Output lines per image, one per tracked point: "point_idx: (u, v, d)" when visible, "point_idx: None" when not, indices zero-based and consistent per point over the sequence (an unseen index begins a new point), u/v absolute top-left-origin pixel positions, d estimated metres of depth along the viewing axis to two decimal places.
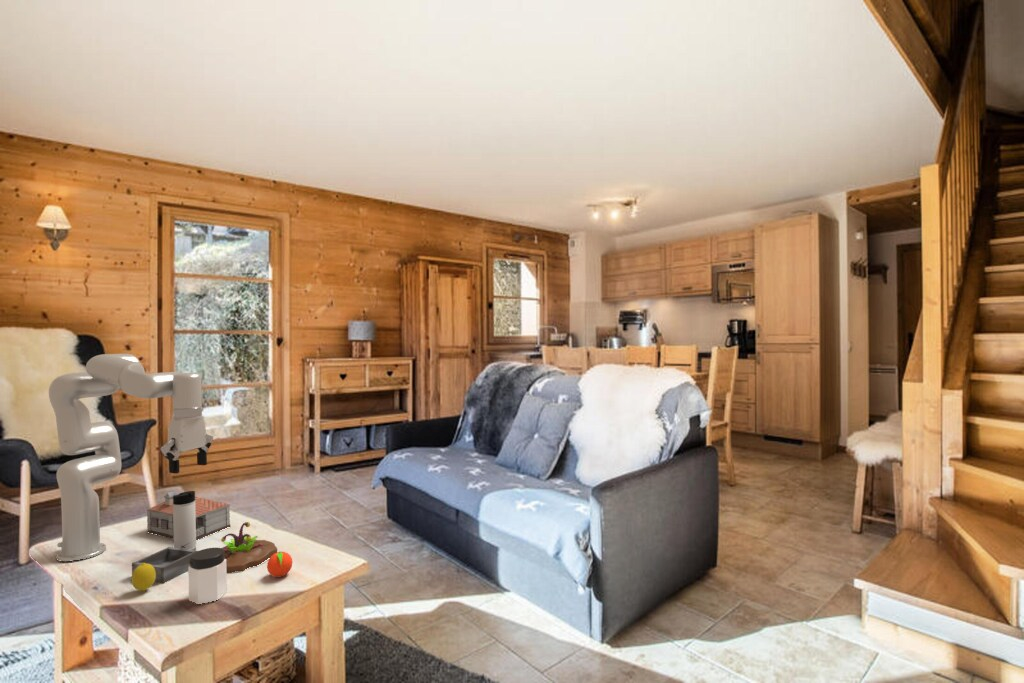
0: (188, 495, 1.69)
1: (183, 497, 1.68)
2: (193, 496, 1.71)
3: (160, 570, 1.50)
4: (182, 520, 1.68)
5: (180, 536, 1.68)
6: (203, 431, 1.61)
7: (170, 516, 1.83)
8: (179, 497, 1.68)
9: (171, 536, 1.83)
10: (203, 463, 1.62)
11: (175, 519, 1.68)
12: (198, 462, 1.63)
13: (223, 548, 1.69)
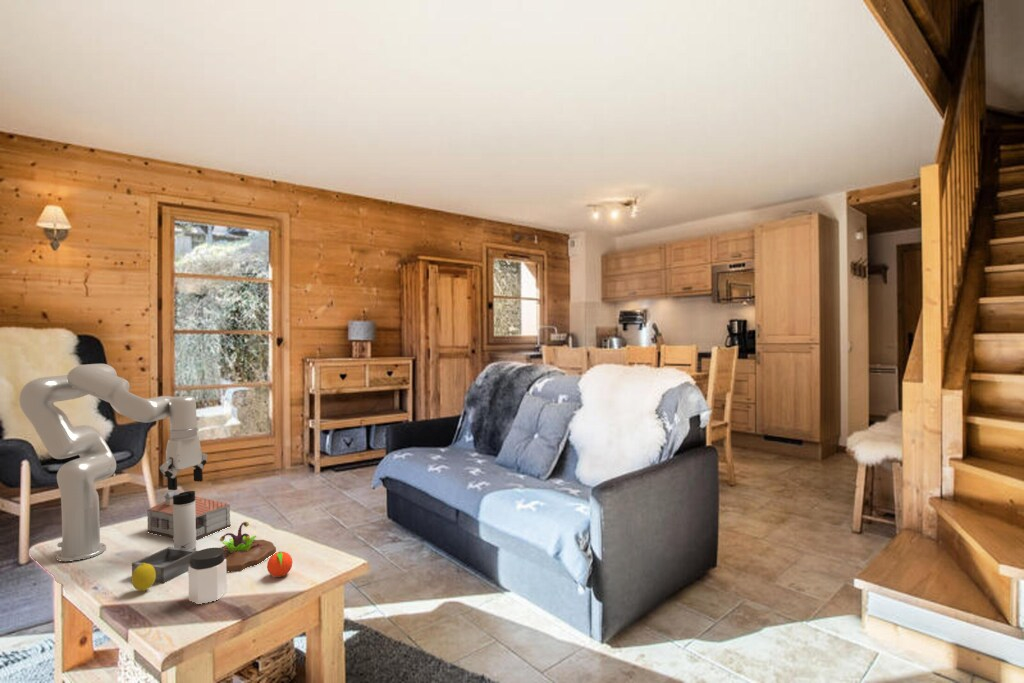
0: (188, 495, 1.69)
1: (183, 497, 1.68)
2: (193, 496, 1.71)
3: (160, 570, 1.50)
4: (182, 520, 1.68)
5: (180, 536, 1.68)
6: (198, 450, 1.73)
7: (170, 516, 1.83)
8: (179, 497, 1.68)
9: (171, 536, 1.83)
10: (199, 479, 1.75)
11: (175, 519, 1.68)
12: (194, 478, 1.75)
13: (222, 548, 1.69)
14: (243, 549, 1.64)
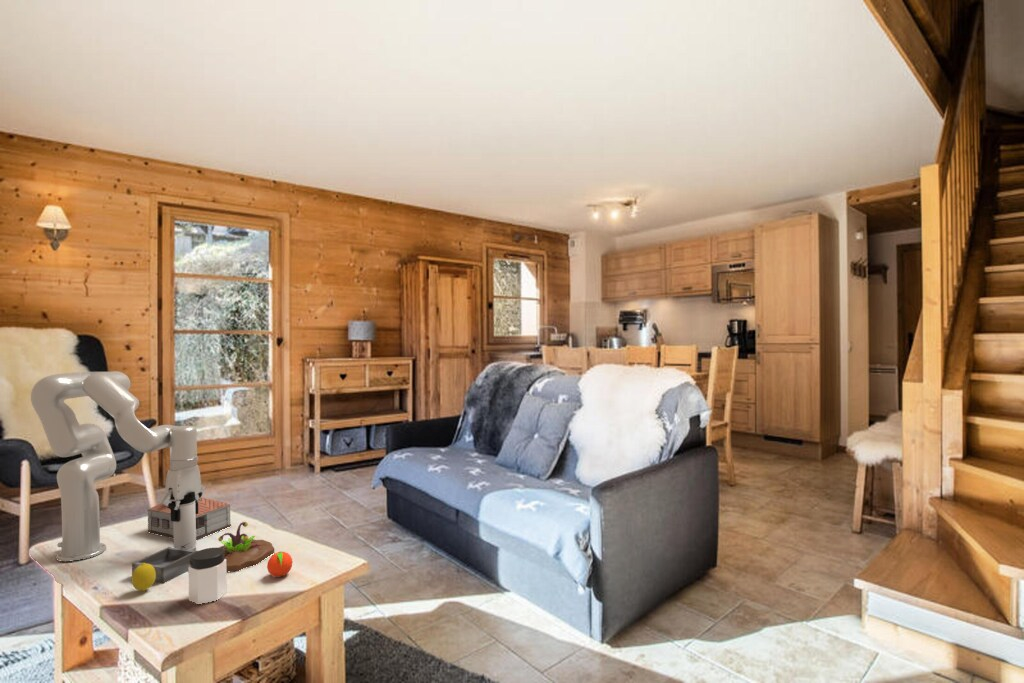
0: (188, 495, 1.69)
1: None
2: (193, 496, 1.71)
3: (160, 570, 1.50)
4: (182, 520, 1.68)
5: (180, 536, 1.68)
6: (198, 479, 1.73)
7: None
8: None
9: (172, 536, 1.83)
10: (195, 512, 1.74)
11: None
12: None
13: (221, 547, 1.69)
14: (241, 549, 1.64)
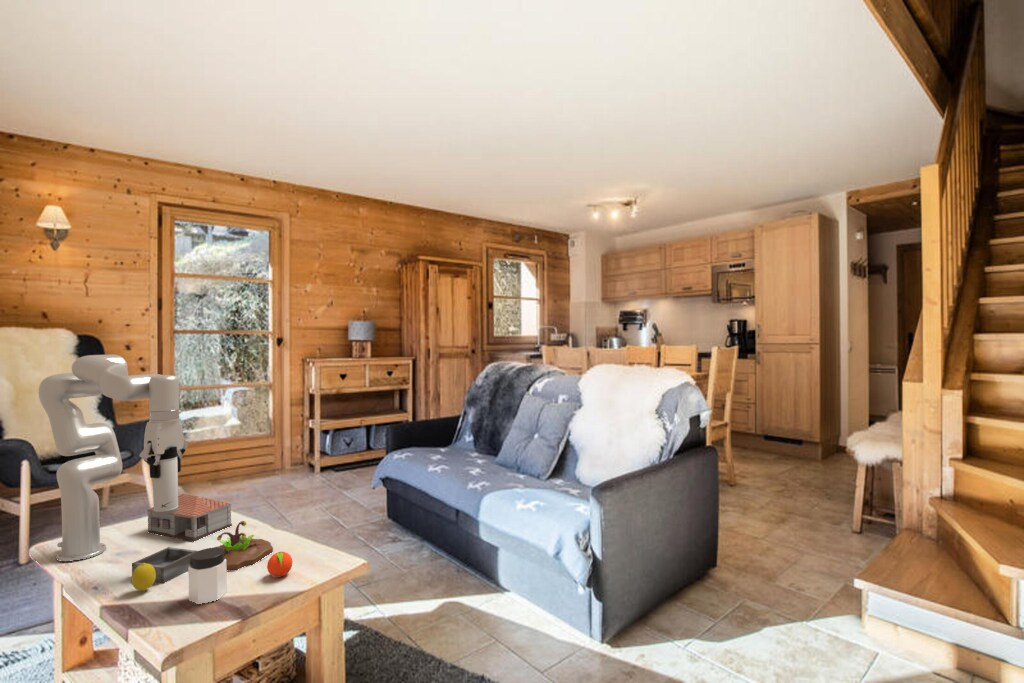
0: (169, 450, 1.55)
1: (164, 452, 1.54)
2: (175, 451, 1.57)
3: (160, 570, 1.50)
4: (162, 476, 1.54)
5: (160, 494, 1.54)
6: (180, 434, 1.60)
7: (172, 516, 1.83)
8: None
9: (173, 536, 1.83)
10: None
11: None
12: None
13: (220, 546, 1.70)
14: (240, 548, 1.65)
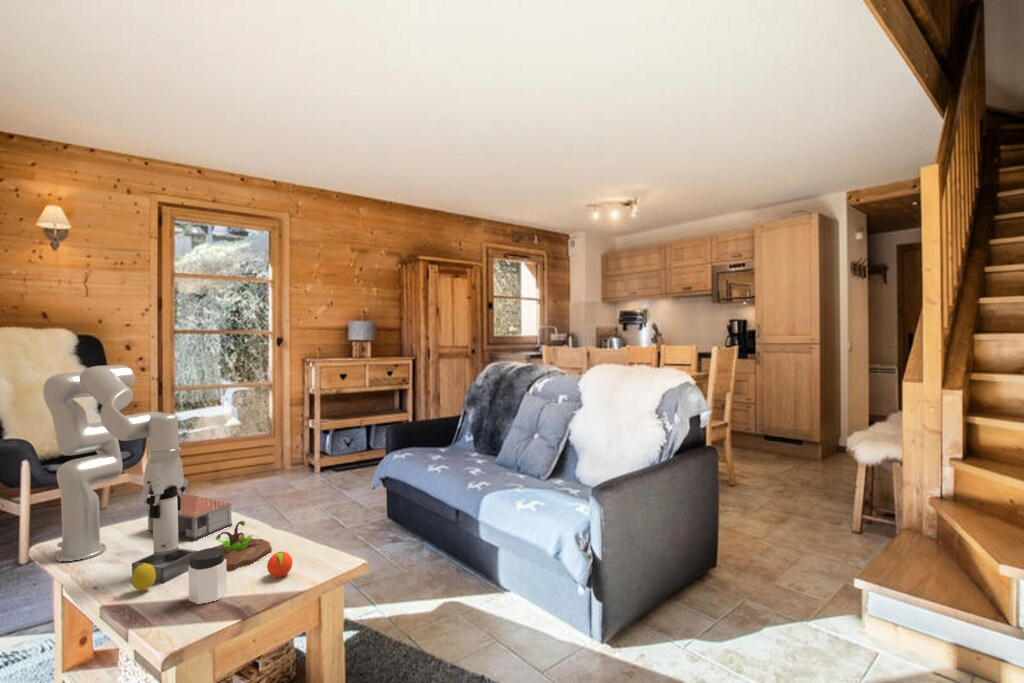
0: (169, 489, 1.55)
1: None
2: (175, 490, 1.57)
3: (160, 570, 1.50)
4: (162, 516, 1.53)
5: (160, 534, 1.53)
6: (180, 472, 1.59)
7: None
8: None
9: None
10: None
11: None
12: None
13: (220, 546, 1.70)
14: (238, 548, 1.65)
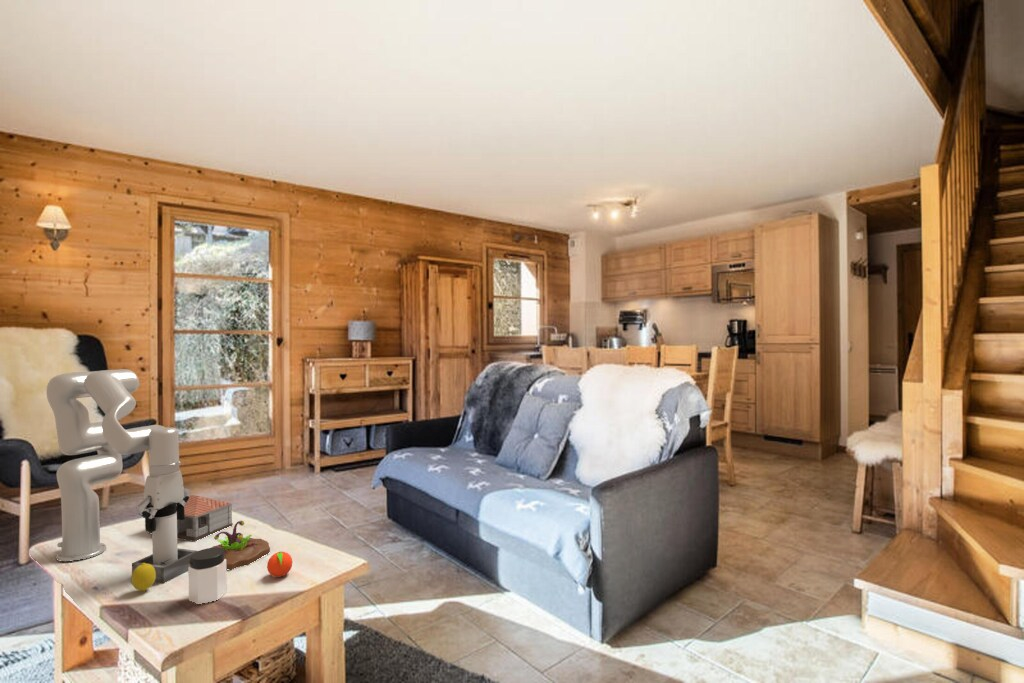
0: (168, 507, 1.55)
1: (163, 509, 1.54)
2: (174, 507, 1.57)
3: (160, 570, 1.50)
4: (161, 534, 1.54)
5: (159, 552, 1.54)
6: (181, 486, 1.59)
7: None
8: None
9: None
10: (181, 518, 1.60)
11: (154, 533, 1.54)
12: None
13: (219, 545, 1.71)
14: (237, 548, 1.65)
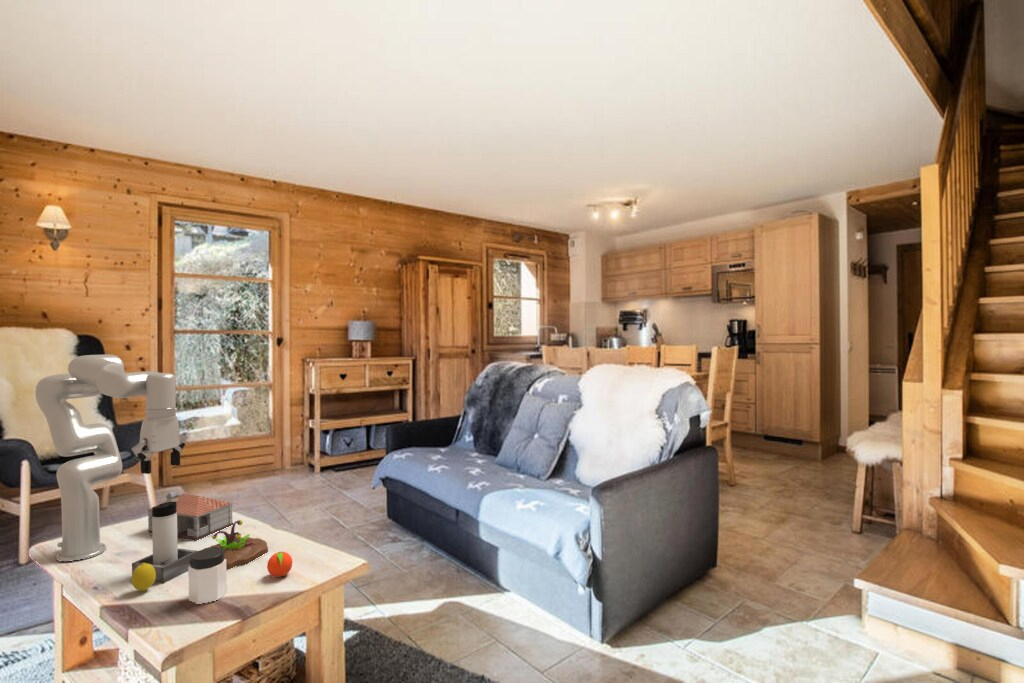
0: (169, 506, 1.55)
1: (163, 509, 1.54)
2: (174, 507, 1.57)
3: (160, 570, 1.50)
4: (162, 534, 1.54)
5: (159, 552, 1.54)
6: (177, 431, 1.60)
7: None
8: (159, 509, 1.53)
9: None
10: (177, 463, 1.62)
11: (154, 533, 1.54)
12: (171, 462, 1.62)
13: (217, 545, 1.71)
14: (235, 547, 1.65)
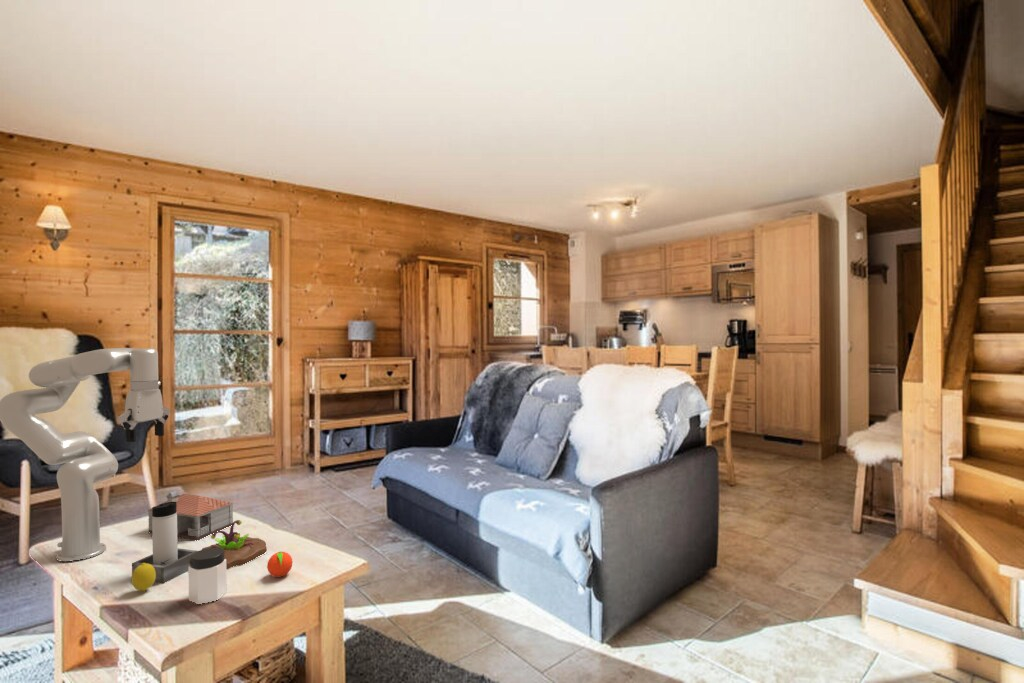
0: (169, 506, 1.55)
1: (163, 509, 1.54)
2: (174, 507, 1.57)
3: (160, 570, 1.50)
4: (162, 534, 1.54)
5: (159, 552, 1.54)
6: (160, 403, 1.71)
7: None
8: (159, 509, 1.53)
9: None
10: (160, 434, 1.72)
11: (154, 533, 1.54)
12: (155, 433, 1.73)
13: None
14: (233, 547, 1.66)
